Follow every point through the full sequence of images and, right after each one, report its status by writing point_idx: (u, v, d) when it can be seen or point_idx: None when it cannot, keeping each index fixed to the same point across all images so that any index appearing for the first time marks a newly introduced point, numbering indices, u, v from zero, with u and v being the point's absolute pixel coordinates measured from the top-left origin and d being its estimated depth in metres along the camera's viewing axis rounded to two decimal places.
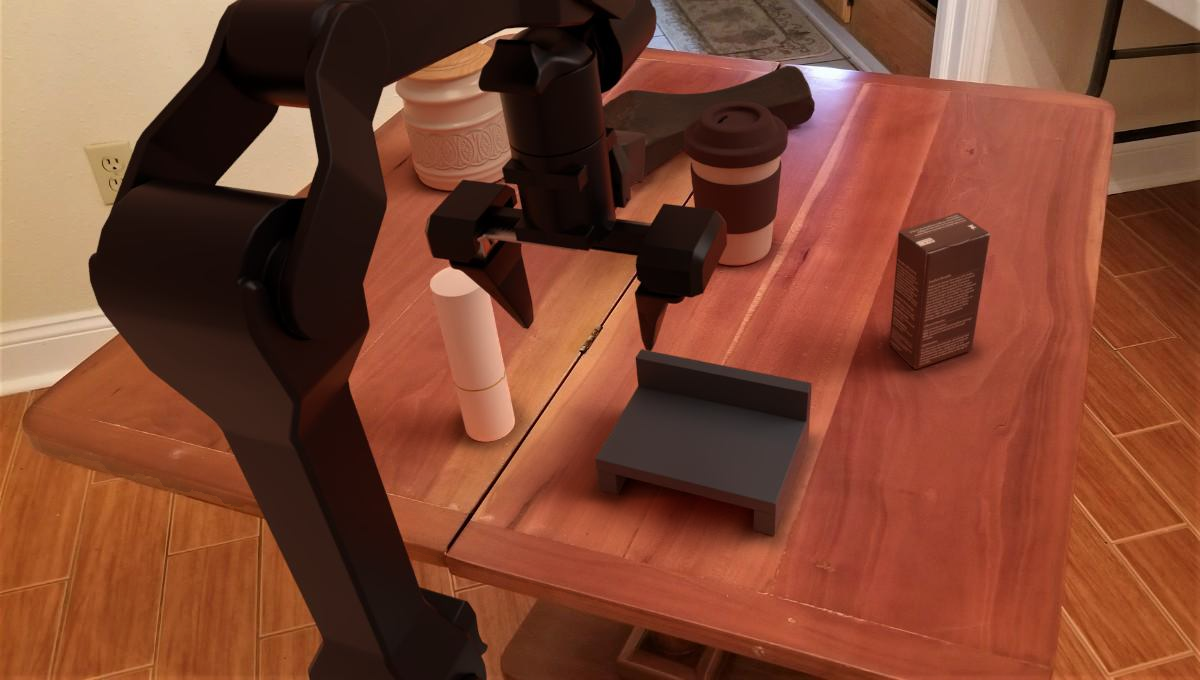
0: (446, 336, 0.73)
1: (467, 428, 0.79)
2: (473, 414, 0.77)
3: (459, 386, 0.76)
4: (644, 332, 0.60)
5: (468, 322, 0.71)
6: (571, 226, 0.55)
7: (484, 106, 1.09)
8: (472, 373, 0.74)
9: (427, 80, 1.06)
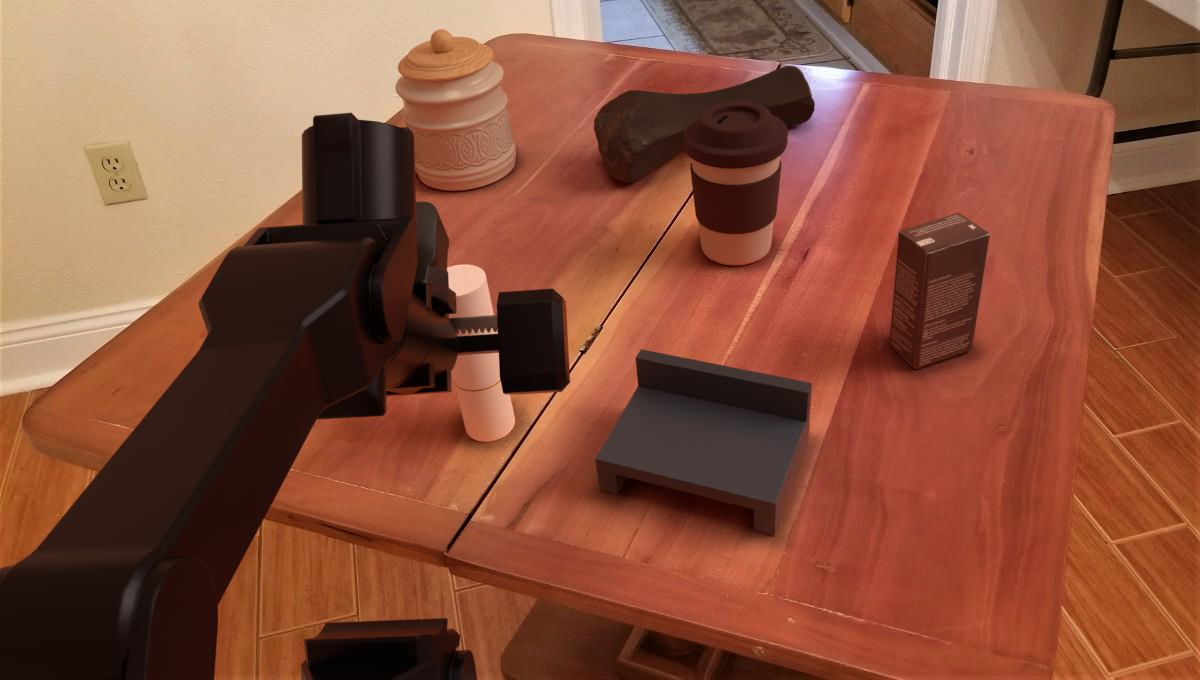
0: None
1: (467, 428, 0.79)
2: (473, 414, 0.77)
3: (459, 386, 0.76)
4: None
5: None
6: None
7: (484, 106, 1.09)
8: (472, 373, 0.74)
9: (427, 80, 1.06)
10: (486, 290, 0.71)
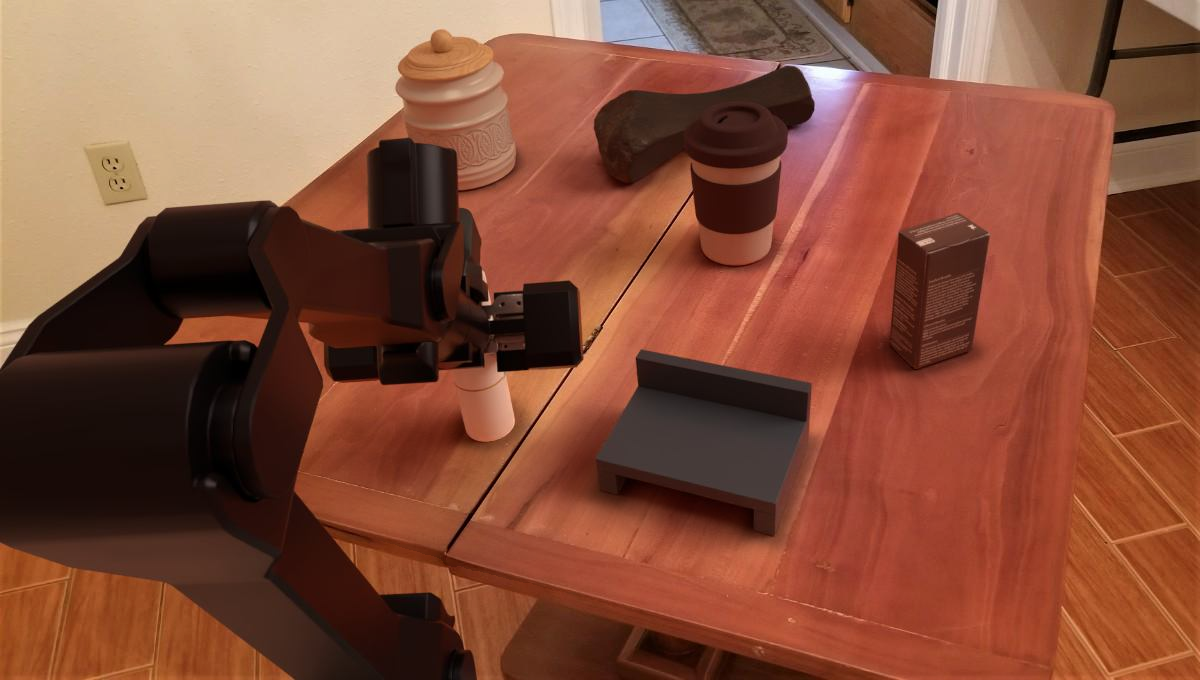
0: None
1: (467, 428, 0.79)
2: (473, 414, 0.77)
3: (459, 386, 0.76)
4: None
5: None
6: (465, 361, 0.66)
7: (484, 106, 1.09)
8: (472, 373, 0.74)
9: (427, 80, 1.06)
10: None
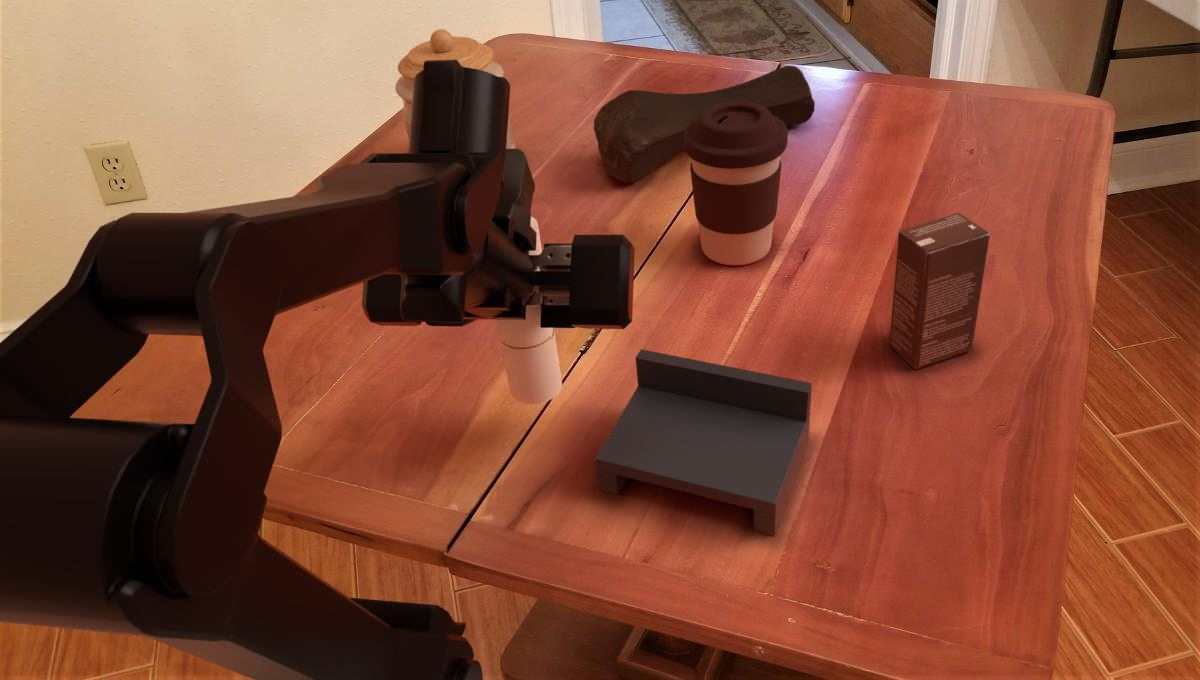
0: None
1: (511, 388, 0.75)
2: (517, 373, 0.73)
3: (504, 342, 0.72)
4: None
5: None
6: (504, 311, 0.62)
7: None
8: (517, 329, 0.70)
9: None
10: (537, 241, 0.67)
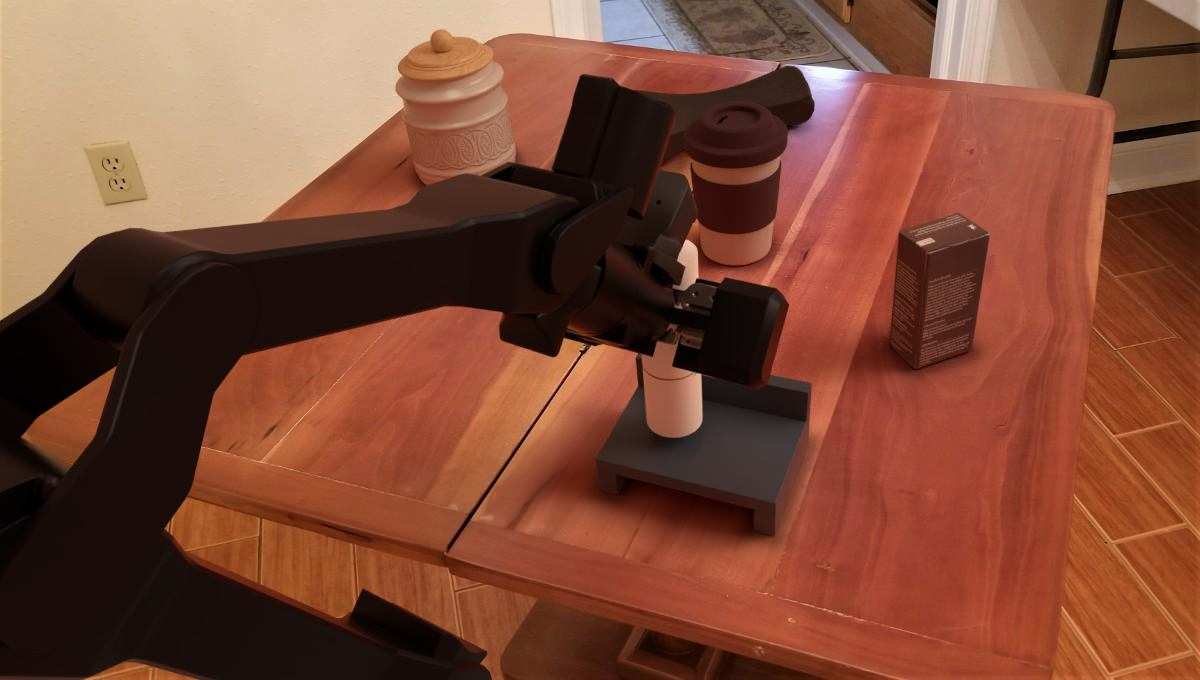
0: None
1: (646, 415, 0.71)
2: (652, 402, 0.69)
3: (645, 367, 0.68)
4: None
5: None
6: (630, 344, 0.58)
7: (484, 106, 1.09)
8: (658, 358, 0.66)
9: (427, 80, 1.06)
10: (692, 273, 0.62)
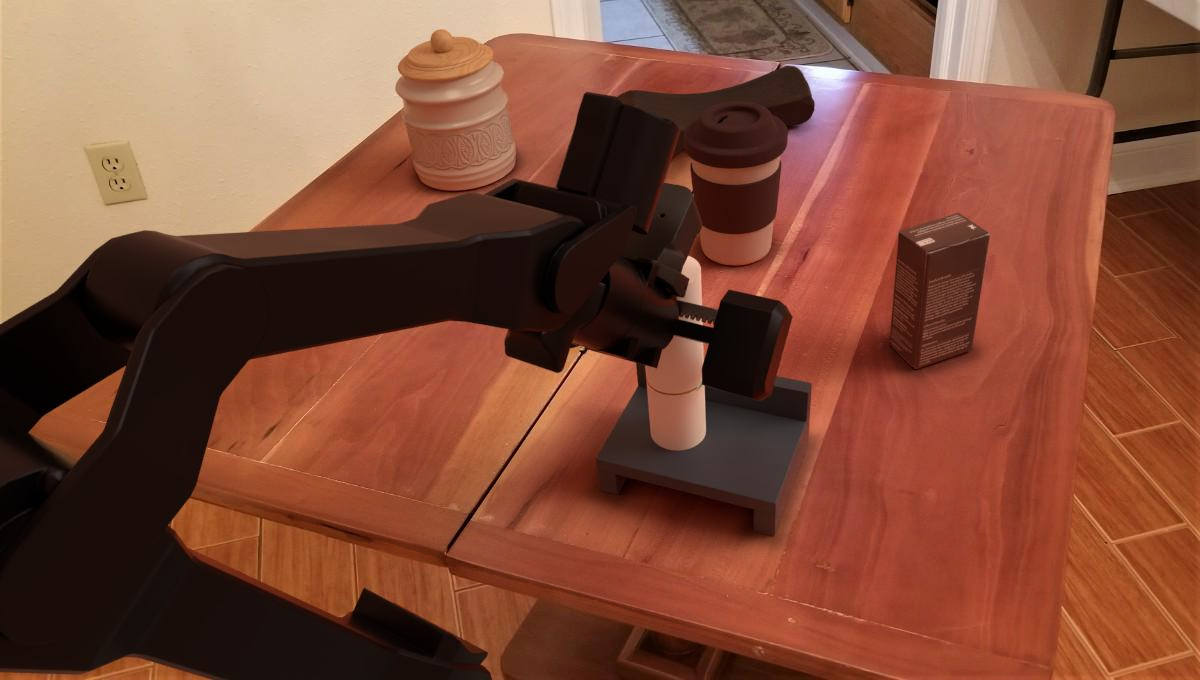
0: None
1: (650, 427, 0.72)
2: (656, 416, 0.70)
3: (648, 382, 0.69)
4: None
5: None
6: (635, 356, 0.58)
7: (484, 106, 1.09)
8: (662, 373, 0.66)
9: (427, 80, 1.06)
10: (695, 290, 0.63)
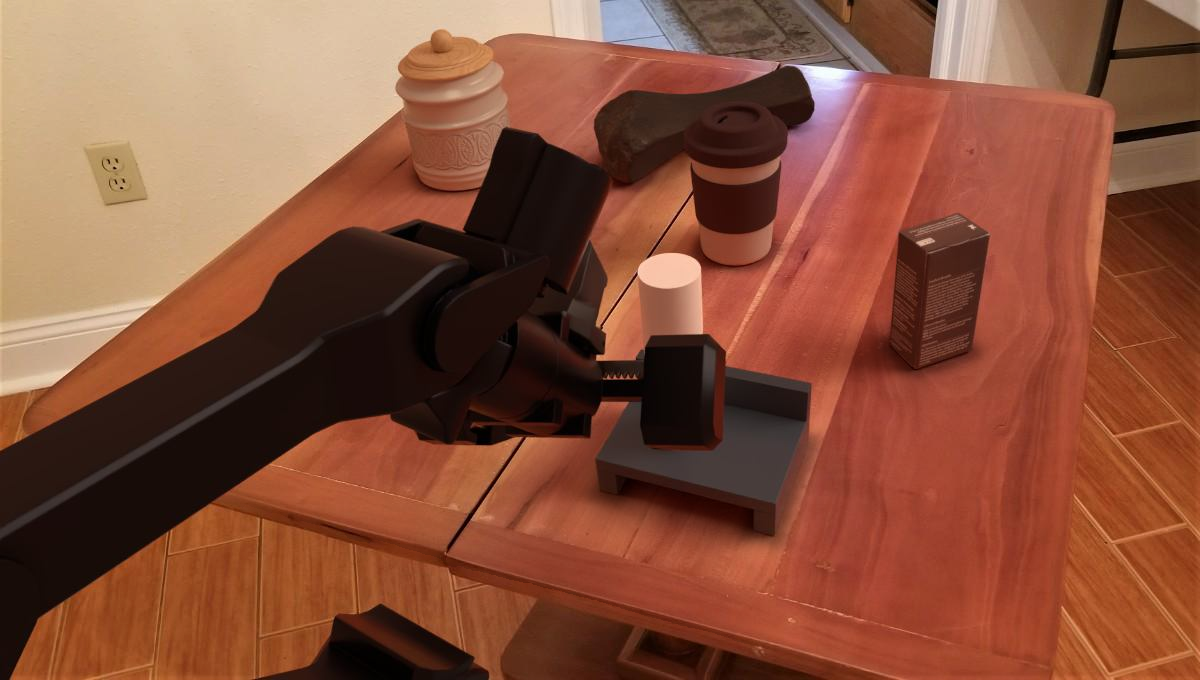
0: (643, 327, 0.65)
1: None
2: None
3: None
4: None
5: (666, 319, 0.63)
6: (563, 428, 0.51)
7: (484, 106, 1.09)
8: None
9: (427, 80, 1.06)
10: (695, 290, 0.63)
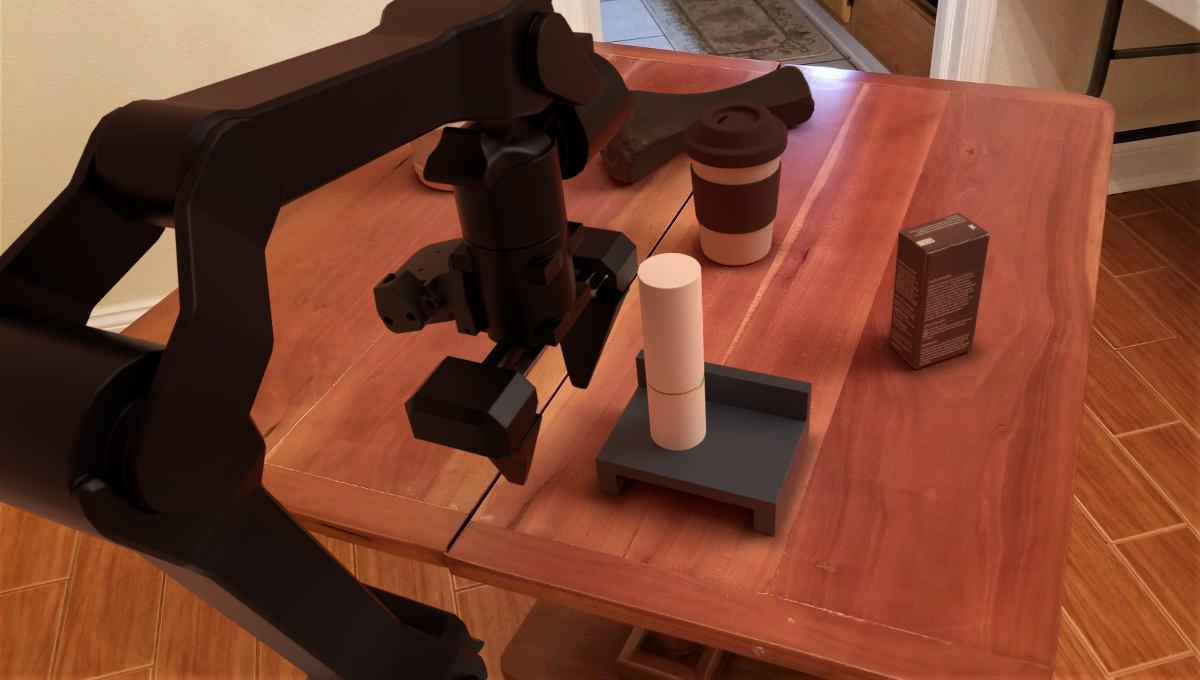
0: (643, 327, 0.65)
1: (650, 427, 0.72)
2: (656, 416, 0.70)
3: (648, 382, 0.69)
4: (597, 360, 0.61)
5: (666, 319, 0.63)
6: (576, 287, 0.53)
7: None
8: (662, 373, 0.66)
9: None
10: (695, 290, 0.63)
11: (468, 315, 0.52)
